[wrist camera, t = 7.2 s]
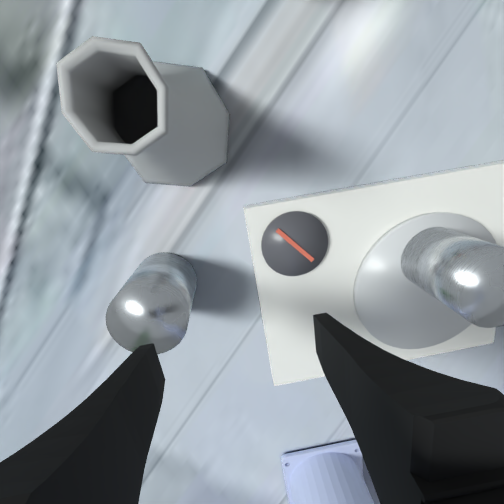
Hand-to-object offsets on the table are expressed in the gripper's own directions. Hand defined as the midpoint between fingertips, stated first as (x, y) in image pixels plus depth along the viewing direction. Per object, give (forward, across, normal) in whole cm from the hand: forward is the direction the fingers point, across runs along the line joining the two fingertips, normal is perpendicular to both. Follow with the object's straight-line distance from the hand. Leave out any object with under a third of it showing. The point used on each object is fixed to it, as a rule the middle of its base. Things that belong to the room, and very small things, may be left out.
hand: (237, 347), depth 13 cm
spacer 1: (+9, +5, 0) cm, 10 cm away
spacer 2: (+7, -14, +1) cm, 16 cm away
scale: (+9, -11, +3) cm, 14 cm away
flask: (+9, +2, -10) cm, 14 cm away
